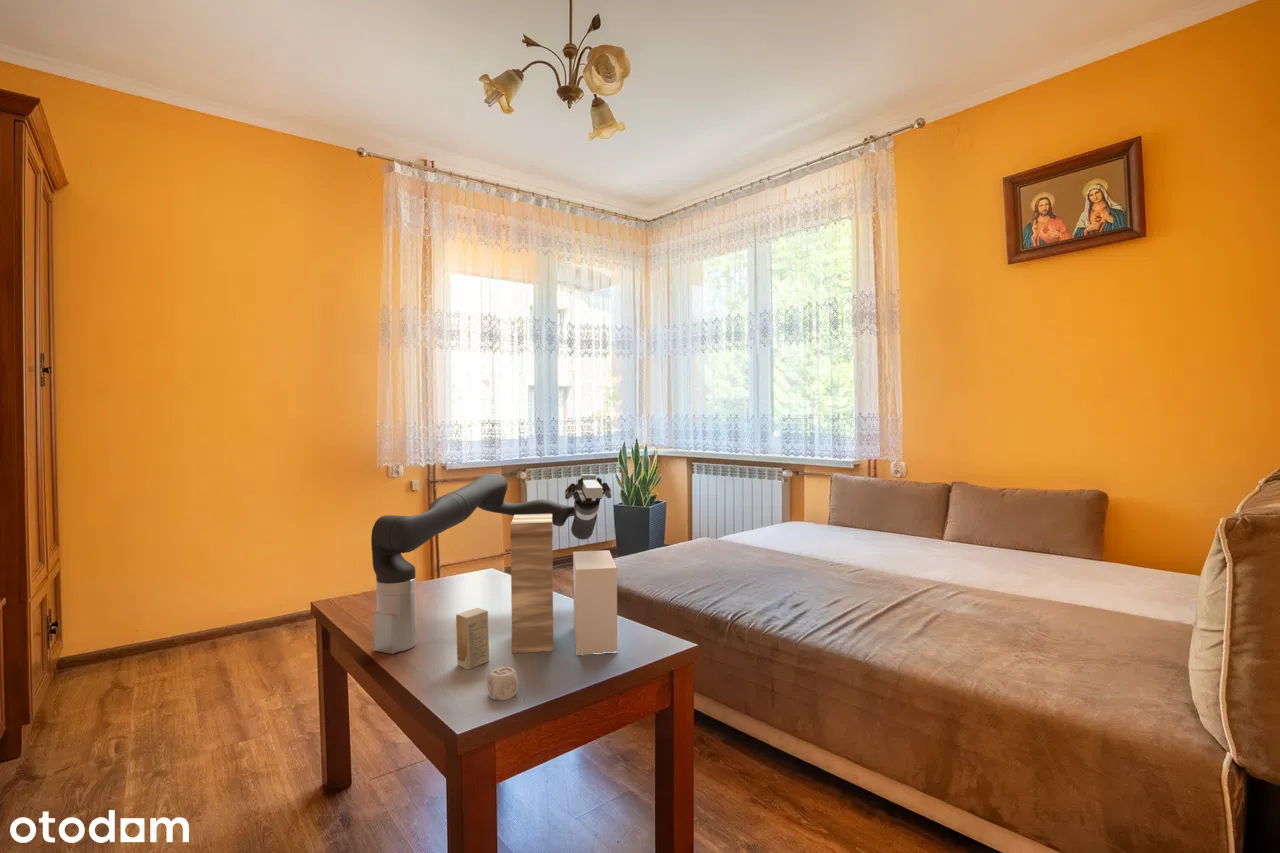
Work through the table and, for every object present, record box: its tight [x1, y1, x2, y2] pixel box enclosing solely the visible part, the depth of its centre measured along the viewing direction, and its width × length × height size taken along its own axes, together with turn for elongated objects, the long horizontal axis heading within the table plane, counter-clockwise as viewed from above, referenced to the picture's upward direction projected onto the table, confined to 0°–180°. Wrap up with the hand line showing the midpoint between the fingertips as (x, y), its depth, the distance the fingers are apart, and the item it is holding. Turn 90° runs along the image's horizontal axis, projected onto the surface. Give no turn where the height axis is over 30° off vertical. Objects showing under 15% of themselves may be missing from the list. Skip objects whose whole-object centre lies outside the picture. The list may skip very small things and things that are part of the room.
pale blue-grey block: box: [580, 473, 604, 499], centre depth 160 cm, size 24×4×4 cm, turn 9°
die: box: [486, 666, 520, 702], centre depth 124 cm, size 5×5×5 cm
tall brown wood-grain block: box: [509, 514, 554, 654], centre depth 153 cm, size 14×10×32 cm
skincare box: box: [455, 607, 490, 670], centre depth 140 cm, size 6×4×12 cm
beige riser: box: [572, 549, 618, 655], centre depth 155 cm, size 20×10×21 cm, turn 8°
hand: (590, 480), depth 164 cm, fingers closed on pale blue-grey block, 4 cm apart
